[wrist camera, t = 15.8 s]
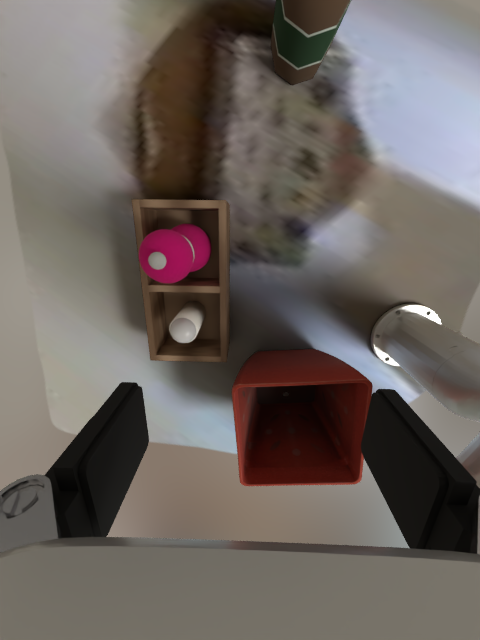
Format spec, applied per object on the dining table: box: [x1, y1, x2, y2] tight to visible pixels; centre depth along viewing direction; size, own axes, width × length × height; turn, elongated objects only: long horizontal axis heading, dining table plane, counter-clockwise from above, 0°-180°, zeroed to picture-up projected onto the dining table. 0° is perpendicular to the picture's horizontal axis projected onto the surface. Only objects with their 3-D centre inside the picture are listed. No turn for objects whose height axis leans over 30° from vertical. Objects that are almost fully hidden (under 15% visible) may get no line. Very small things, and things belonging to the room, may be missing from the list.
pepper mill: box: [139, 224, 211, 283], centre depth 35 cm, size 7×7×20 cm
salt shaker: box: [169, 301, 206, 343], centre depth 43 cm, size 4×4×11 cm
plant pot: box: [232, 349, 372, 486], centre depth 46 cm, size 19×19×17 cm
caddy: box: [132, 199, 230, 362], centre depth 44 cm, size 13×25×8 cm, turn 179°
